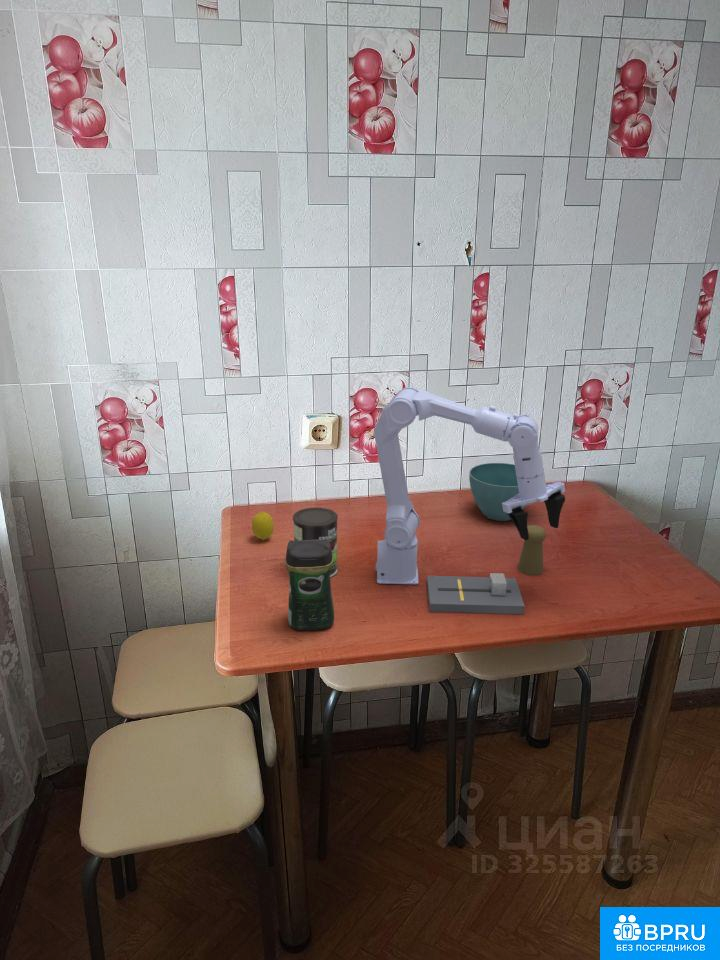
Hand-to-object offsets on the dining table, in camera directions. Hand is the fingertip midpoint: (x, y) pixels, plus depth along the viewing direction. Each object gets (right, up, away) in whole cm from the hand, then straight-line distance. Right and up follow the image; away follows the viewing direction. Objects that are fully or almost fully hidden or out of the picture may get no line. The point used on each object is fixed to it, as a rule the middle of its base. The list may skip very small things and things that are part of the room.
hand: (539, 532), depth 155 cm
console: (-14, -15, +4) cm, 21 cm away
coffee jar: (-49, -18, -5) cm, 52 cm away
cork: (+2, -10, +17) cm, 20 cm away
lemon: (-63, -4, +30) cm, 70 cm away
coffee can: (-49, -10, +16) cm, 53 cm away
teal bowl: (0, +1, +46) cm, 46 cm away
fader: (-9, -13, +3) cm, 16 cm away
